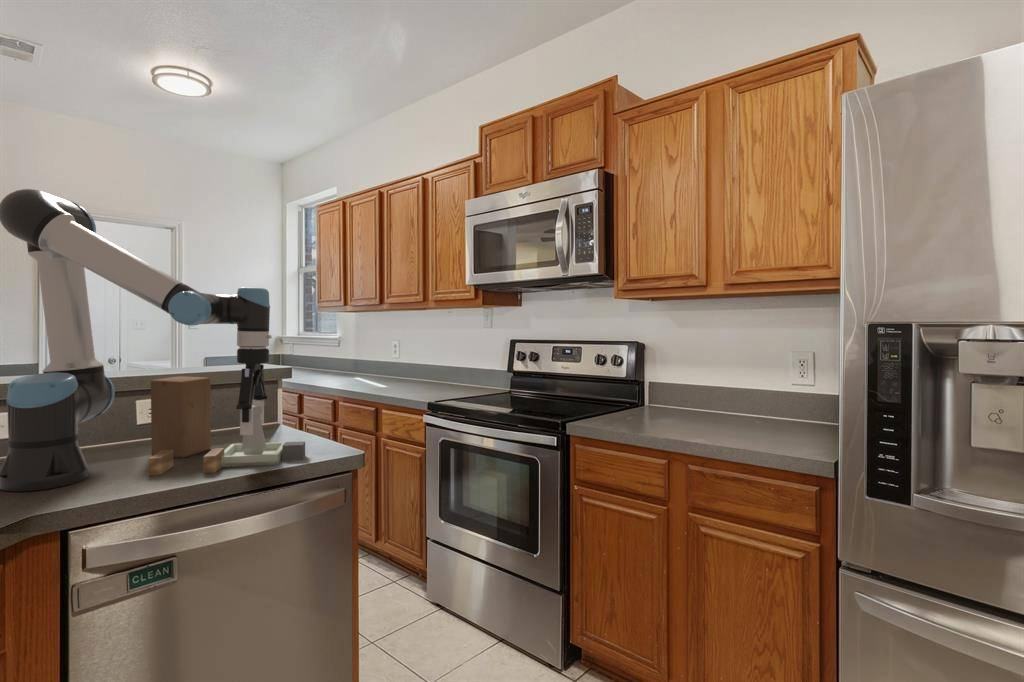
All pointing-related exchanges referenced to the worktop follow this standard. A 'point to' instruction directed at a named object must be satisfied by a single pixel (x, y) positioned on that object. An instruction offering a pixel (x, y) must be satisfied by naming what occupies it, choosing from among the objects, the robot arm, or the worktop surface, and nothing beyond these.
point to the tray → (252, 456)
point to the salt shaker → (255, 435)
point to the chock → (293, 450)
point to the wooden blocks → (165, 461)
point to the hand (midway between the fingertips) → (252, 429)
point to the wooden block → (181, 415)
